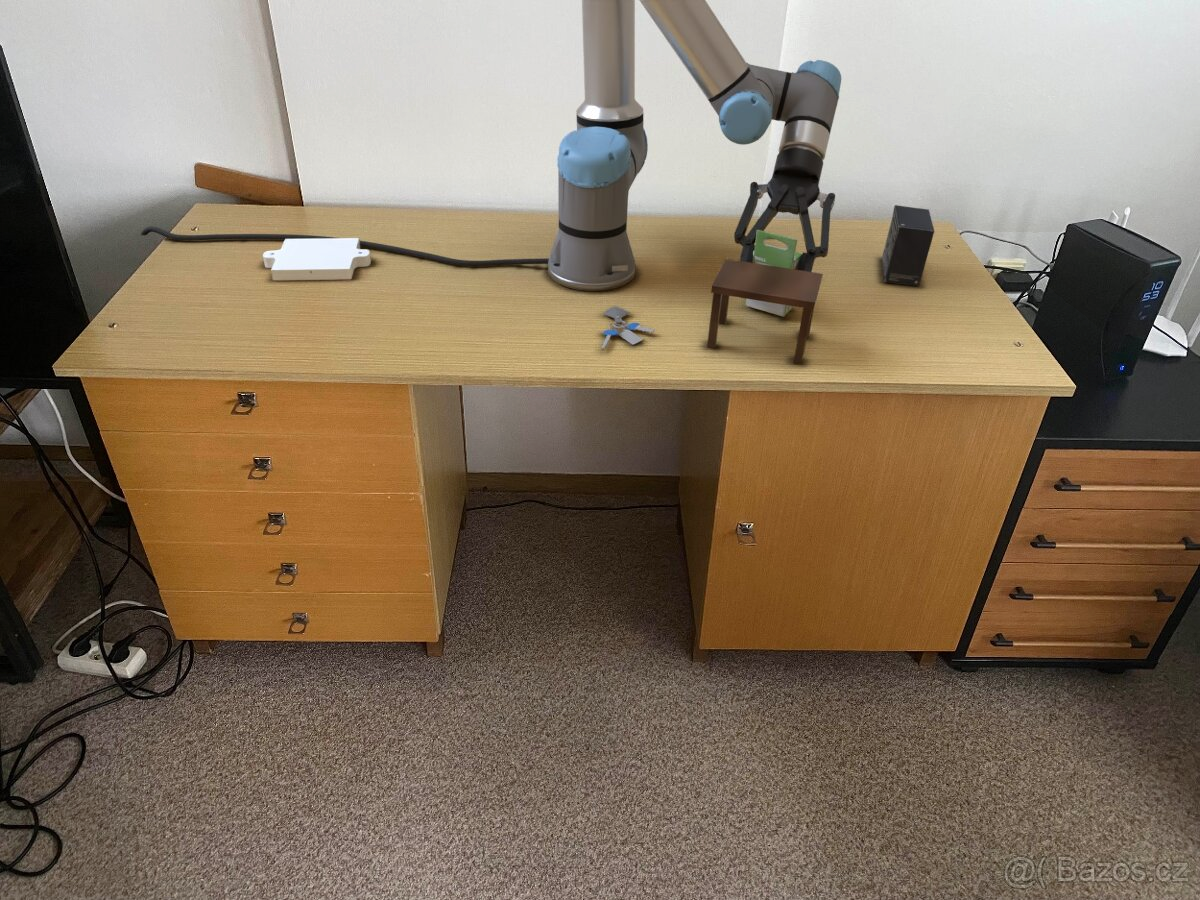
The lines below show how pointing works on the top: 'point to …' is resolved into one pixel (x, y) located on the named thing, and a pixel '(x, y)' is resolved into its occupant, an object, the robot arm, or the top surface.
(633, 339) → the key chain
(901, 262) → the small box
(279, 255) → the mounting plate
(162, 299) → the top surface
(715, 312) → the side table
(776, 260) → the ink box
